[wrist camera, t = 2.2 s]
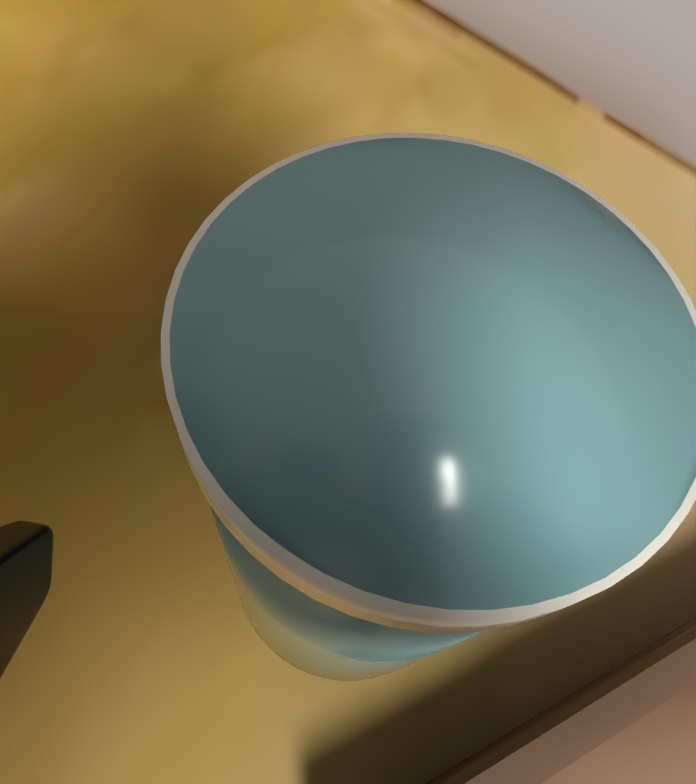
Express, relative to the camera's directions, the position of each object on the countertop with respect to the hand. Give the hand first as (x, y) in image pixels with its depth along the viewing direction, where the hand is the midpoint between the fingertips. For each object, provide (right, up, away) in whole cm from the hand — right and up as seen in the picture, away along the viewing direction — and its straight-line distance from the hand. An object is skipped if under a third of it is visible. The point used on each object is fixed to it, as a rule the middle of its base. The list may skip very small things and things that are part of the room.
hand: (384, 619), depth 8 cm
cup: (-1, -2, +10) cm, 11 cm away
